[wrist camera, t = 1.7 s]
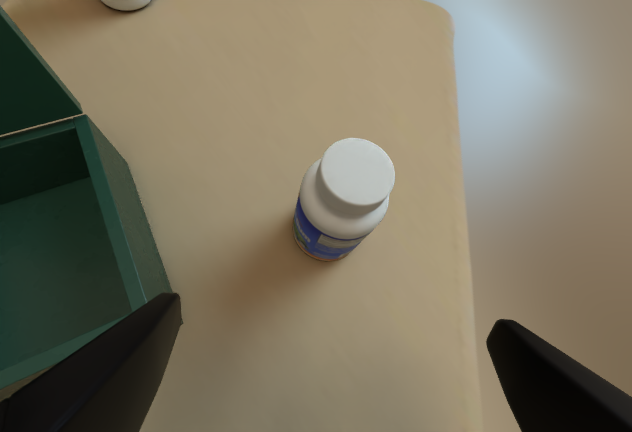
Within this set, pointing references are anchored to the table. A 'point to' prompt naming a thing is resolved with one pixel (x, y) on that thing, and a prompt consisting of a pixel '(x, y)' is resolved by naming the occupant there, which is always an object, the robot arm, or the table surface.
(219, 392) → the table surface
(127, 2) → the white tumbler
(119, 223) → the green open box
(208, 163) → the table surface
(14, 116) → the green box lid
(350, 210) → the pill bottle
